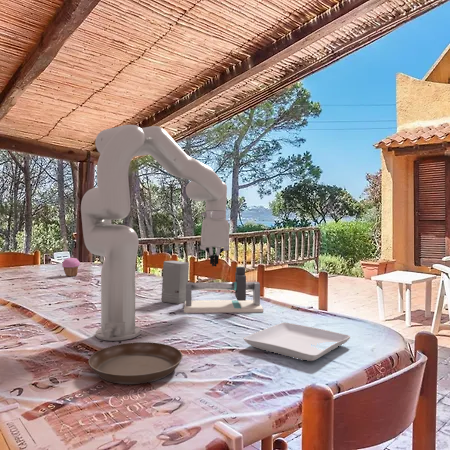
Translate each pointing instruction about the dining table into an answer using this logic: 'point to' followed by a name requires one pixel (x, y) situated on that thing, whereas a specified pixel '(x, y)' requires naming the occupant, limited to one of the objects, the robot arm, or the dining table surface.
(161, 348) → the plant saucer
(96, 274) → the dining table surface
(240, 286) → the collar
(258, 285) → the rail
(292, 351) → the salad plate
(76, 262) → the cupcake
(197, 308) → the board
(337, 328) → the dining table surface
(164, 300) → the skincare box
